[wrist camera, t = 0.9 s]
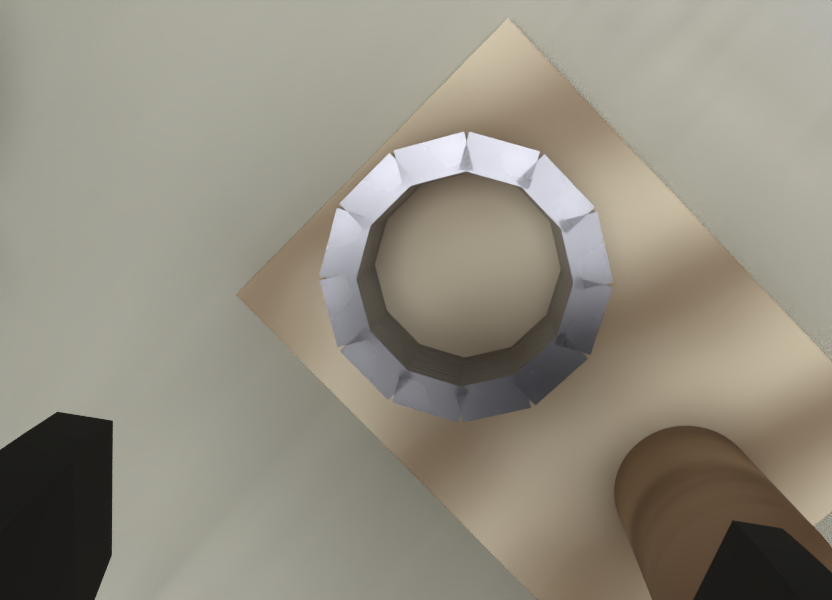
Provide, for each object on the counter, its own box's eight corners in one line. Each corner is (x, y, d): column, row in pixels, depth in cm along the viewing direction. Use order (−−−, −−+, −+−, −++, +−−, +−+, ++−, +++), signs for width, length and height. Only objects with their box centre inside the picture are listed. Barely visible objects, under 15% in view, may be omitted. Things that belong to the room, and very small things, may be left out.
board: (895, 437, 24) (913, 447, 23) (612, 662, 26) (617, 680, 26) (507, 24, 24) (507, 17, 23) (245, 290, 26) (236, 294, 25)
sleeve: (642, 270, 23) (669, 285, 20) (463, 432, 25) (459, 472, 21) (470, 89, 23) (467, 73, 20) (297, 263, 24) (266, 276, 21)
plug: (785, 496, 24) (883, 599, 18) (678, 583, 25) (738, 708, 19) (691, 397, 24) (758, 468, 18) (585, 487, 25) (616, 584, 19)
